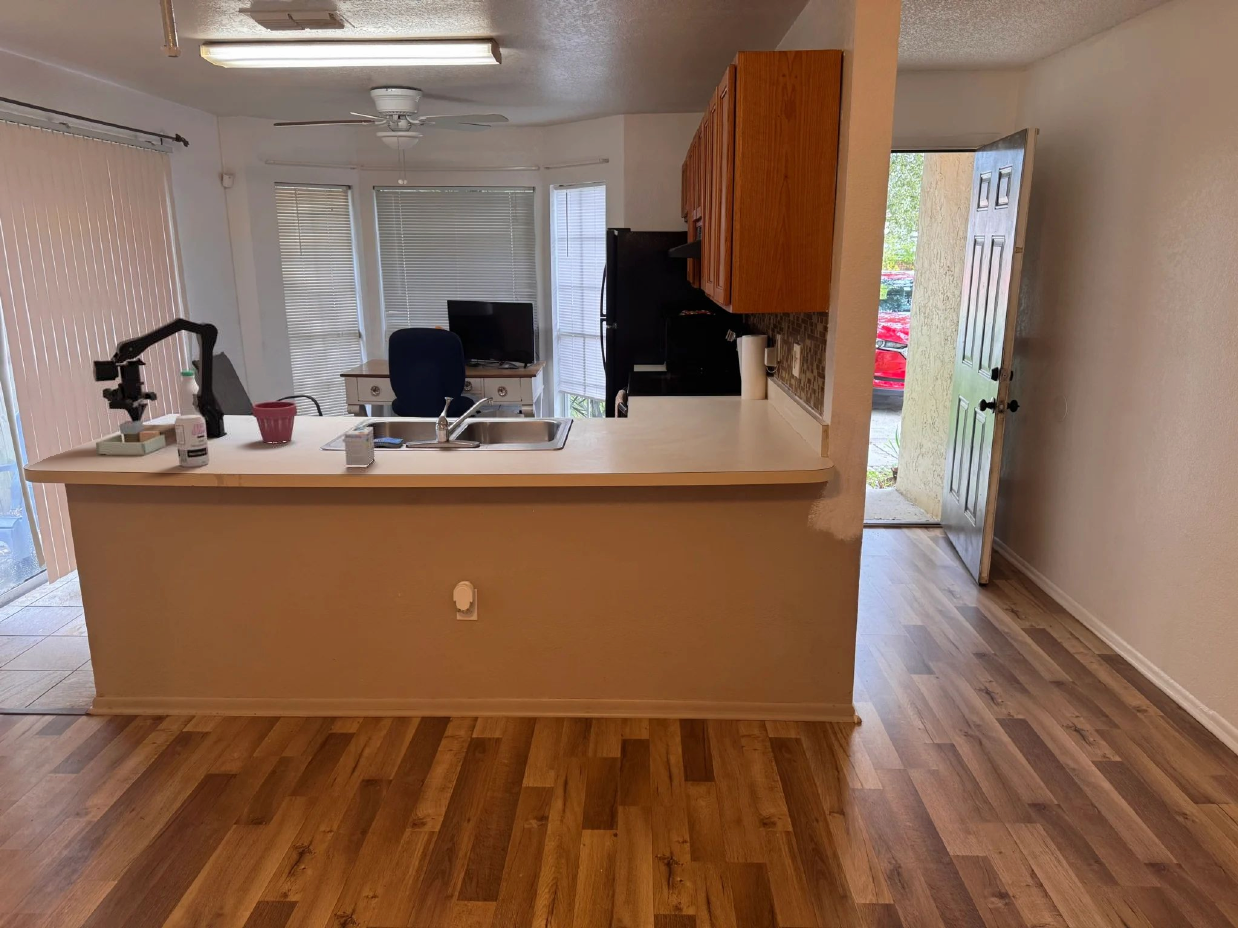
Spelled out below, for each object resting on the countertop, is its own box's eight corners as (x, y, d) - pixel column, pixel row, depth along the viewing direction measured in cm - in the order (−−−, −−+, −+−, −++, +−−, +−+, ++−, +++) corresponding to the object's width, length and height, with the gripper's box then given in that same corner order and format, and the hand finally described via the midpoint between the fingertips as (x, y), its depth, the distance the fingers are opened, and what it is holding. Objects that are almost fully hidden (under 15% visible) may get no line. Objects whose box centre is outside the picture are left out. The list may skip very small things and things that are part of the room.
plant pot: (301, 443, 290) (298, 406, 286) (257, 446, 283) (253, 409, 280) (296, 435, 302) (293, 400, 299) (254, 438, 296) (250, 402, 293)
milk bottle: (195, 425, 316) (189, 372, 311) (177, 424, 317) (171, 372, 313) (208, 422, 323) (203, 370, 318) (191, 421, 325) (185, 369, 320)
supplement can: (186, 461, 262) (180, 414, 259) (213, 461, 263) (208, 413, 259) (174, 467, 254) (169, 418, 251) (203, 467, 255) (198, 418, 251)
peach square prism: (159, 430, 280) (154, 432, 277) (161, 445, 281) (156, 447, 278) (144, 430, 279) (139, 432, 276) (145, 445, 281) (141, 447, 278)
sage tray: (165, 446, 282) (164, 434, 281) (144, 455, 269) (143, 443, 268) (120, 446, 281) (119, 434, 280) (97, 455, 269) (95, 442, 268)
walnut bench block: (181, 439, 293) (180, 425, 292) (164, 446, 282) (162, 431, 280) (144, 438, 293) (142, 424, 292) (125, 446, 281) (123, 431, 280)
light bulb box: (353, 460, 267) (351, 426, 264) (375, 459, 268) (373, 426, 265) (345, 468, 257) (343, 433, 254) (368, 468, 257) (366, 433, 255)
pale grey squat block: (143, 429, 283) (142, 420, 282) (136, 433, 278) (134, 425, 277) (128, 429, 283) (126, 420, 281) (120, 433, 278) (119, 425, 277)
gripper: (122, 374, 288) (128, 419, 292) (89, 383, 270) (95, 430, 274) (155, 375, 288) (160, 420, 292) (124, 384, 270) (130, 431, 274)
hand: (136, 425), depth 283 cm, fingers closed
